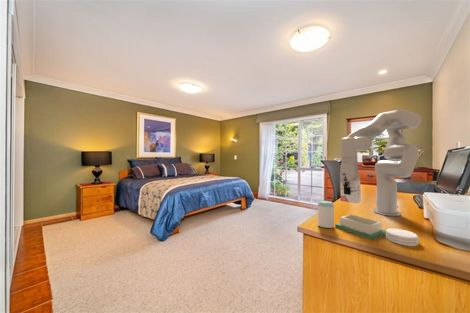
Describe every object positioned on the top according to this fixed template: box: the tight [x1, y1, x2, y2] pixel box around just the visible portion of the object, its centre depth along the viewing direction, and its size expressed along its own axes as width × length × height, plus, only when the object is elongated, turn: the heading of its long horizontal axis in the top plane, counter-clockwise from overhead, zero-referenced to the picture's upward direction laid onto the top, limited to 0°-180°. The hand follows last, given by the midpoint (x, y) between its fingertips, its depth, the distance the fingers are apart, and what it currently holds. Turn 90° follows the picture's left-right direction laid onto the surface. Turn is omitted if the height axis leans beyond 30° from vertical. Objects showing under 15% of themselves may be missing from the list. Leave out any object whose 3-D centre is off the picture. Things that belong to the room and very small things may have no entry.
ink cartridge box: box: [339, 174, 362, 204], centre depth 105 cm, size 9×5×15 cm, turn 34°
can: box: [317, 200, 335, 229], centre depth 93 cm, size 7×7×12 cm
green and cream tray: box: [334, 214, 387, 241], centre depth 88 cm, size 12×16×5 cm
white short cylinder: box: [385, 227, 419, 247], centre depth 78 cm, size 10×10×4 cm
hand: (350, 193), depth 105 cm, fingers closed on ink cartridge box, 5 cm apart
